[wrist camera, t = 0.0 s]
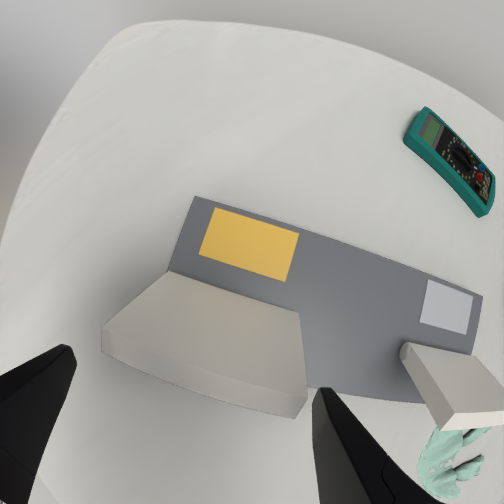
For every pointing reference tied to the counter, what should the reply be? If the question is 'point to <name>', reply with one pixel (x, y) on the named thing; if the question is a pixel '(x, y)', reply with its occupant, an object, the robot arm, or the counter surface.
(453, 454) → the cloth
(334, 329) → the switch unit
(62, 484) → the counter surface
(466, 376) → the lever
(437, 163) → the digital multimeter
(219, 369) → the white square panel
